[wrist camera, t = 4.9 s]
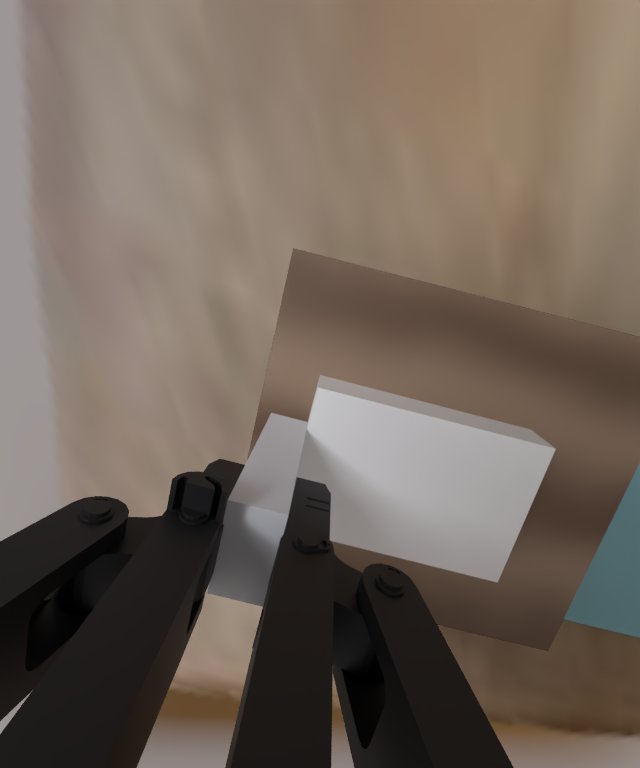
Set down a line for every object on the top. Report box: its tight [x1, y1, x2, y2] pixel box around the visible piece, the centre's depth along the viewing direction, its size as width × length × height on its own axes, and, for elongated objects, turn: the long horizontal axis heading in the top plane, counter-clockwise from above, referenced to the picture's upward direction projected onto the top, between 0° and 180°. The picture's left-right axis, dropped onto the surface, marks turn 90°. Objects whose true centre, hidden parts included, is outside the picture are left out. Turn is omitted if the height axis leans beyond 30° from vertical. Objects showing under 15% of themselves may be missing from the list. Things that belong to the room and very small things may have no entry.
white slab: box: [297, 375, 556, 583], centre depth 17 cm, size 6×9×2 cm, turn 76°
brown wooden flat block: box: [247, 249, 640, 651], centre depth 19 cm, size 15×16×3 cm
